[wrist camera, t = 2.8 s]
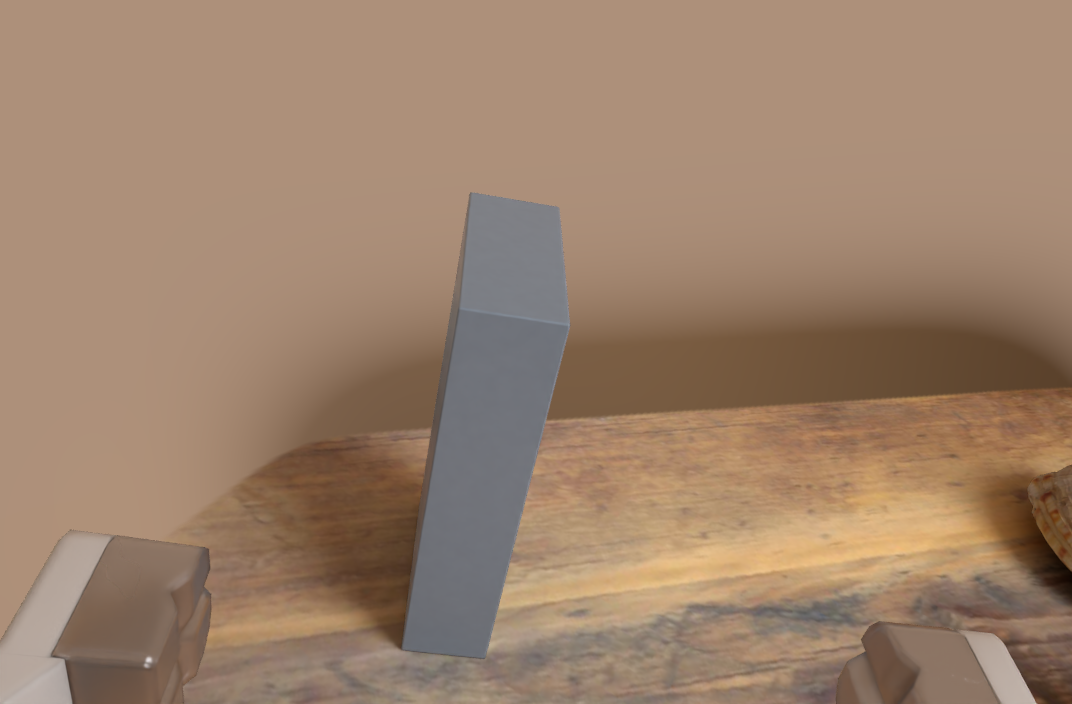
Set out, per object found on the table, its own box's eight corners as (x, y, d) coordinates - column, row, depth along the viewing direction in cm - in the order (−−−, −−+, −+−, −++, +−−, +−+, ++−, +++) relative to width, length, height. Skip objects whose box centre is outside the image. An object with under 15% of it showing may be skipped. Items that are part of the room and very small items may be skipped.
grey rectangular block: (400, 650, 26) (457, 307, 19) (419, 501, 31) (470, 188, 24) (485, 659, 26) (570, 325, 19) (490, 510, 31) (559, 204, 24)
